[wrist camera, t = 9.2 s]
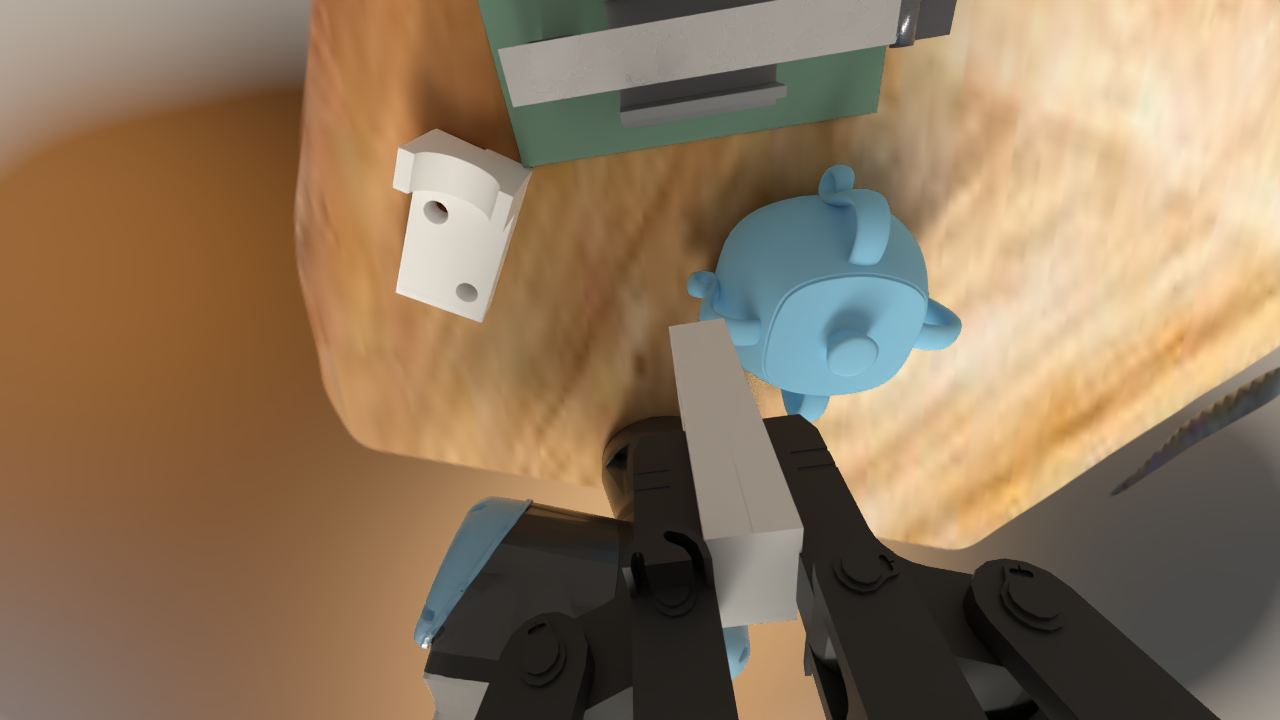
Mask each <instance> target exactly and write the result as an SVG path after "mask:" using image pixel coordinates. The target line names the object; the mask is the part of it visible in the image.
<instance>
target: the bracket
mask: <svg viewBox="0 0 1280 720" xmlns="http://www.w3.org/2000/svg"><path fill="white" fill-rule="evenodd" d="M532 170H533V169H532V168H529V167H527V168H523V164H521V163H518V162H516V161H514V160H512V159H509V158H507V157H505V156H503V155H501V154H498V153H496V152H494V151H492V150H490V149H486V150H483V149H481V148H479V147H477V146H474V145H472V144H470V143H468V142H465V141H463V140H461V139H459V138H457V137H454V136H452V135H450V134H448V133H446V132H443V131H441V130H439V129H437V128H436V129H434V130H432V131H430V132H428V133H426V134H424V135H422V136H420V137H418V138H416V139H414V140H412V141H410V142H408V143H406V144H404V145H402V146H400V147H398V154H397V161H396V167H395V174H394V181H393V188H395V189H397V190H400V191H402V192H404V193H407V194H409V193H411V192H413V195H412V201H411V206H410V212H409V218H408V224H407V230H406V235H405V241H404V247H403V253H402V259H401V264H400V270H399V276H398V282H397V287H396V293H398V294H401V295H404V296H407V297H410V298H413V299H415V300H418V301H421V302H424V303H427V304H430V305H432V306H435V307H438V308H441V309H444V310H446V311H449V312H452V313H455V314H458V315H461V316H463V317H466V318H469V319H472V320H475V321H478V322H480V323H482V321H483V319H484V317H485V315H486V313H487V311H488V309H489V307H490V305H491V302H492V299H493V296H494V293H495V289H496V286H497V283H498V280H499V277H500V273H501V270H502V267H503V264H504V260H505V257H506V254H507V251H508V248H509V244H510V241H511V238H512V235H513V231H514V228H515V225H516V222H517V219H518V215H519V212H520V209H521V206H522V202H523V199H524V196H525V193H526V190H527V186H528V183H529V180H530V177H531V173H532ZM436 201H438V202H440V203H442V204H443V205H444V206H445V207H446V209H447V211H448V213H446V212H444V211H442V210H441V209H440V208H439V207H438V206H437V204H436Z"/></svg>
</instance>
